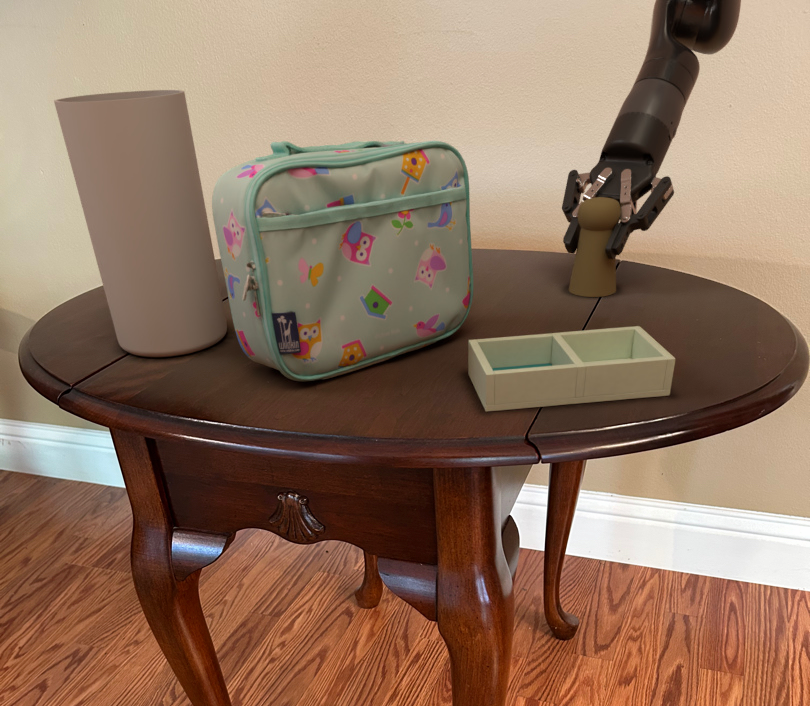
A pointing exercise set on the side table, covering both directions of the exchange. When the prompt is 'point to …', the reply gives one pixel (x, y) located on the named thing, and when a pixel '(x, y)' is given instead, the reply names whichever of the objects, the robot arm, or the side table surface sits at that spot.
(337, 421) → the side table surface
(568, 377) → the compartment tray
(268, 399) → the side table surface
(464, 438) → the side table surface
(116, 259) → the cylinder vase
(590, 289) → the brown game pawn
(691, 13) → the robot arm
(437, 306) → the lunch box
